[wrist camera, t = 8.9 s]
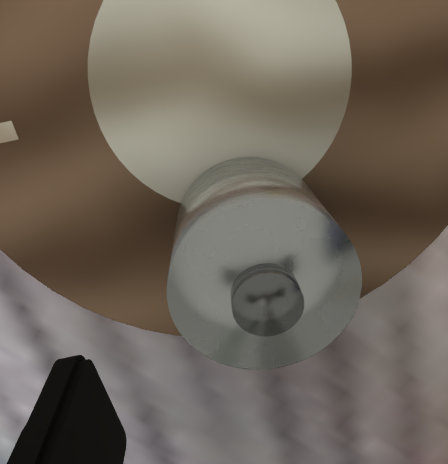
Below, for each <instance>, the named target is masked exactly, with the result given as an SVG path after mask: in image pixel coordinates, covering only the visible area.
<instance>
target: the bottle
mask: <svg viewBox="0 0 448 464" xmlns="http://www.w3.org/2000/svg"><path fill="white" fill-rule="evenodd" d="M361 288H362V272H361V265H360V261H359V258H358V255H357V252H356V250H355V248H354V246H353V244H352V242H351V241H350V240H349V238H348V237H347V235H346V234H345V233H344V231H343V230H342V229H341V228H340V226H339V225H338V224H337V222H336V221H335V220H334V219H333V217H332V216H331V215H330V214H329V212H328V211H327V210H326V209H325V207H324V206H323V205H322V204H321V202H320V201H319V200H318V199H317V197H316V196H315V195H314V193H313V192H312V191H311V190H310V188H309V187H308V186H307V185H306V183H305V182H304V181H303V180H302V179H301V178H300V177H299V176H298V175H297V174H296V173H295V172H294V171H292V170H291V169H290V168H288V167H286V166H285V165H283V164H281V163H278V162H276V161H273V160H269V159H266V158H259V157H241V158H234V159H231V160H227V161H224V162H222V163H219V164H217V165H215V166H213V167H211V168H210V169H208V170H207V171H205V172H204V173H203V174H201V175H200V176H199V177H198V178H197V179H196V180H195V181H194V182H193V183H192V185H191V186H190V187H189V189H188V190H187V192H186V194H185V195H184V197H183V200H182V202H181V205H180V208H179V212H178V217H177V223H176V229H175V236H174V242H173V248H172V254H171V260H170V267H169V273H168V279H167V290H166V291H167V303H168V307H169V312H170V315H171V317H172V320H173V322H174V324H175V326H176V327H177V329H178V331H179V332H180V334H181V335H182V336H183V338H184V339H185V340H186V341H187V342H188V343H189V344H190V345H191V346H192V347H193V348H195V349H196V350H197V351H199V352H200V353H201V354H203V355H205V356H206V357H208V358H210V359H212V360H214V361H217V362H219V363H221V364H225V365H228V366H231V367H236V368H242V369H253V370H260V369H273V368H279V367H284V366H288V365H291V364H294V363H297V362H300V361H302V360H304V359H307V358H309V357H311V356H313V355H314V354H316V353H318V352H319V351H321V350H322V349H324V348H325V347H326V346H328V345H329V344H330V343H331V342H332V341H333V340H334V339H336V338H337V337H338V336H339V334H340V333H341V332H342V331H343V330H344V328H345V327H346V326H347V324H348V323H349V321H350V320H351V318H352V316H353V314H354V312H355V310H356V308H357V305H358V302H359V298H360V294H361Z"/></svg>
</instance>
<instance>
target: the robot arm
mask: <svg viewBox="0 0 448 464" xmlns="http://www.w3.org/2000/svg"><path fill="white" fill-rule="evenodd" d="M125 450H126V434H125V431H124V429H123V426H122V424H121V422H120V420H119V418H118V416H117V413H116V411H115V409H114V407H113V405H112V403H111V400H110V398H109V396H108V394H107V392H106V390H105V388H104V385H103V383H102V381H101V379H100V377H99V375H98V372H97V370H96V368H95V366H94V364H93V362H92V361H91V360H90V359H88V360H86V359H85V358H84V357H83V356H82V355H77V356H72V357H67V358H63V359H58V360H57V361H56V362H55V363H54V365H53V367H52V369H51V372H50V374H49V376H48V378H47V380H46V383H45V385H44V387H43V389H42V391H41V394H40V396H39V398H38V400H37V402H36V404H35V407H34V409H33V411H32V413H31V415H30V418H29V420H28V422H27V424H26V426H25V427H24V429H23V430H22V432H21V434H20V436H19V438H18V441H17V443H16V445H15V447H14V449H13V451H12V454H11V456H10V458H9V460H8V462H7V464H123V461H124V456H125Z"/></svg>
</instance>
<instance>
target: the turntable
mask: <svg viewBox="0 0 448 464" xmlns="http://www.w3.org/2000/svg"><path fill="white" fill-rule="evenodd" d="M241 157H259V158H266V159H269V160H273V161H276V162H278V163H281V164H283V165H285V166H286V167H288V168H290V169H291V170H292V171H294V172H295V173H296V174H297V175H298V176H299V177H300V178H301V179H302V180H303V181H304V182H305V183H306V185H307V186H308V187H309V188H310V190H311V191H312V192H313V193H314V195H315V196H316V197H317V199H318V200H319V201H320V202H321V204H322V205H323V206H324V207H325V209H326V210H327V211H328V212H329V214H330V215H331V216H332V217H333V219H334V220H335V221H336V222H337V224H338V225H339V226H340V228H341V229H342V230H343V231H344V233H345V234H346V235H347V237H348V238H349V240H350V241H351V242H352V244H353V246H354V248H355V250H356V252H357V255H358V258H359V261H360V265H361V272H362V288H361V294H360V298H362V297H363V296H365V295H366V294H368V293H370V292H371V291H373V290H374V289H376V288H378V287H379V286H381V285H383V284H384V283H385V282H387V281H388V280H389V279H391V278H392V277H393V276H394V275H396V274H397V273H398V272H400V271H401V270H402V269H403V268H405V267H406V266H407V265H409V264H410V263H411V262H412V261H413V260H414V259H415V258H416V257H417V256H418V255H419V254H421V253H422V252H423V251H424V250H425V249H426V248H427V247H428V246H429V245H430V244H431V243H432V242H433V241H434V240H435V239H436V238H437V237H438V236H439V235H440V233H441V232H442V231H443V230H444V229H445V227H446V226H447V225H448V0H0V250H2V251H3V252H4V253H5V254H6V255H7V256H8V257H9V258H11V259H12V260H13V261H14V262H15V263H16V264H17V265H19V266H20V267H21V268H22V269H23V270H24V271H26V272H27V273H29V274H30V275H31V276H33V277H34V278H36V279H37V280H38V281H40V282H41V283H43V284H44V285H46V286H47V287H48V288H50V289H51V290H53V291H54V292H56V293H58V294H60V295H62V296H63V297H65V298H67V299H69V300H71V301H72V302H74V303H76V304H78V305H80V306H81V307H83V308H86V309H88V310H90V311H93V312H95V313H98V314H100V315H102V316H105V317H107V318H109V319H112V320H115V321H118V322H121V323H125V324H128V325H131V326H134V327H138V328H141V329H145V330H150V331H155V332H161V333H166V334H171V335H179V336H182V335H181V334H180V332H179V331H178V329H177V327H176V326H175V324H174V322H173V320H172V317H171V315H170V312H169V307H168V303H167V291H166V290H167V279H168V273H169V267H170V260H171V254H172V248H173V242H174V236H175V229H176V223H177V217H178V212H179V208H180V205H181V202H182V200H183V197H184V195H185V194H186V192H187V190H188V189H189V187H190V186H191V185H192V183H193V182H194V181H195V180H196V179H197V178H198V177H199V176H200V175H201V174H203V173H204V172H205V171H207V170H208V169H210V168H211V167H213V166H215V165H217V164H219V163H222V162H224V161H227V160H231V159H234V158H241ZM360 298H359V299H360Z"/></svg>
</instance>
